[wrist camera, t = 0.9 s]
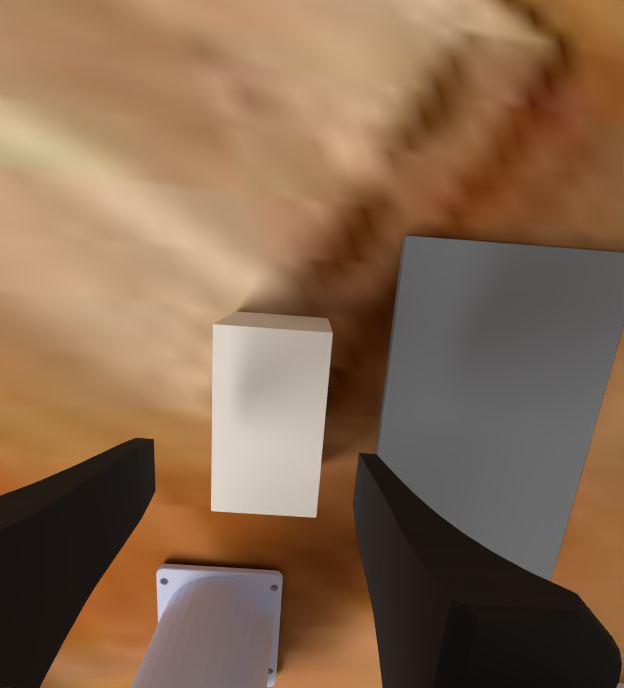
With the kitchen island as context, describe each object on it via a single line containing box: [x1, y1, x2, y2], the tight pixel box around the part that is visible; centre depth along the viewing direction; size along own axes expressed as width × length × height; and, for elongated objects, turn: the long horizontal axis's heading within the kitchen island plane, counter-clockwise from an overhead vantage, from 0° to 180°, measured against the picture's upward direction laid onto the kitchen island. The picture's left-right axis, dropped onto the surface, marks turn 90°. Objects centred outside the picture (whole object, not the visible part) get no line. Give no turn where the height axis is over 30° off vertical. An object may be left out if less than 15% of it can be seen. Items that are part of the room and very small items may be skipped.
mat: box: [362, 236, 624, 579], centre depth 19 cm, size 20×12×1 cm, turn 176°
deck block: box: [211, 311, 333, 518], centre depth 17 cm, size 9×5×4 cm, turn 176°
